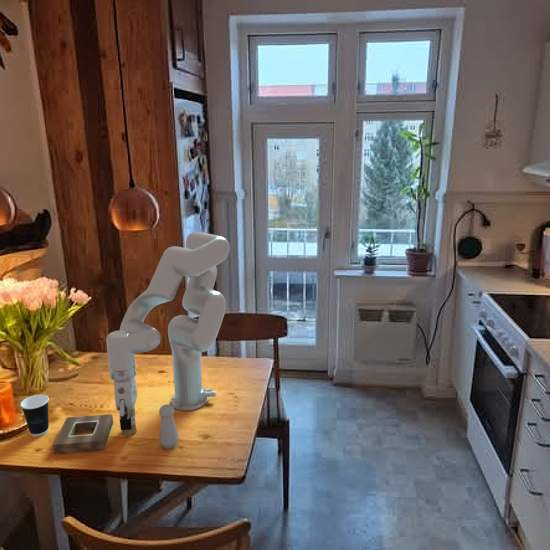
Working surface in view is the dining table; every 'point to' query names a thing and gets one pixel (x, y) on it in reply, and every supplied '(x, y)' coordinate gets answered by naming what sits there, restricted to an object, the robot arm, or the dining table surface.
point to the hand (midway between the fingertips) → (128, 422)
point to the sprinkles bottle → (133, 430)
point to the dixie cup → (36, 414)
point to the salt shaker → (167, 427)
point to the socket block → (83, 443)
